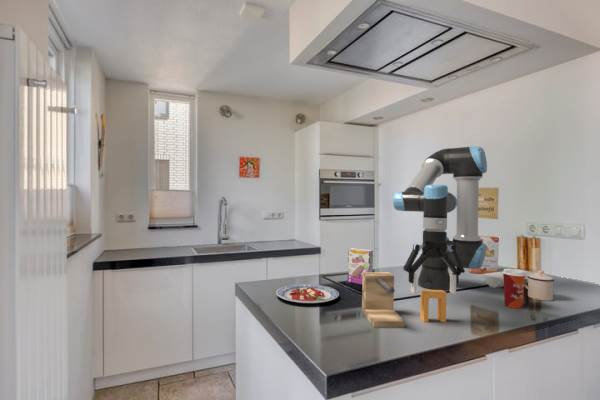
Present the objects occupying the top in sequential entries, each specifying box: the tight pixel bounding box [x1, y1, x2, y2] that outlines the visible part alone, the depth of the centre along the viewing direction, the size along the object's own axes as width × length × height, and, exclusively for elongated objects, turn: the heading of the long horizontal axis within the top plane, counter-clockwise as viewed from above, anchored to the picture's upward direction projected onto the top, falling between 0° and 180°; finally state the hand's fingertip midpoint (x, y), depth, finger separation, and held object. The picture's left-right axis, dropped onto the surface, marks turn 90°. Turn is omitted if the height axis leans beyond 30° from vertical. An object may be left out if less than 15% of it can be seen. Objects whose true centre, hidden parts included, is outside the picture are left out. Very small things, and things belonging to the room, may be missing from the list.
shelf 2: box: [480, 269, 536, 289], centre depth 162 cm, size 12×30×5 cm, turn 116°
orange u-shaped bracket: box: [419, 289, 448, 323], centre depth 111 cm, size 3×8×10 cm, turn 93°
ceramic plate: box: [276, 283, 340, 305], centre depth 136 cm, size 26×26×3 cm
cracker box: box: [467, 235, 500, 274], centre depth 186 cm, size 14×6×21 cm, turn 81°
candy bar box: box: [347, 247, 374, 286], centre depth 159 cm, size 11×5×16 cm, turn 58°
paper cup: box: [501, 268, 526, 310], centre depth 128 cm, size 8×8×14 cm
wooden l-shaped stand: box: [361, 271, 406, 329], centre depth 112 cm, size 17×10×14 cm, turn 3°
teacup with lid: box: [524, 269, 555, 302], centre depth 141 cm, size 12×9×12 cm
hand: (433, 293), depth 111 cm, fingers open, 13 cm apart
